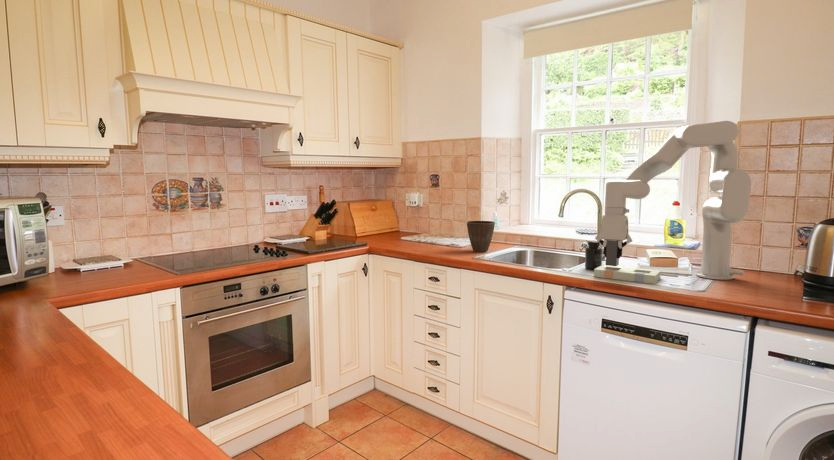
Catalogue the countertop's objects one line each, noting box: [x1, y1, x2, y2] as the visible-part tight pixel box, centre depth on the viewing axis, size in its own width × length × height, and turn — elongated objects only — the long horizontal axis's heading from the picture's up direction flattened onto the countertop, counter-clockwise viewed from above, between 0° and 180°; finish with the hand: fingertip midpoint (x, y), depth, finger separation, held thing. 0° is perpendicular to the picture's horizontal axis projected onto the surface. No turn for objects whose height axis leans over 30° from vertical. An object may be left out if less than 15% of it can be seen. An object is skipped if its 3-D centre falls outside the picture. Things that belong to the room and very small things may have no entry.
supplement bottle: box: [584, 240, 603, 271], centre depth 204 cm, size 7×7×12 cm
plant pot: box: [466, 220, 496, 253], centre depth 253 cm, size 15×15×16 cm
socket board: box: [593, 264, 662, 285], centre depth 187 cm, size 22×12×3 cm, turn 54°
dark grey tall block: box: [605, 240, 620, 266], centre depth 189 cm, size 4×4×11 cm
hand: (612, 256), depth 189 cm, fingers closed on dark grey tall block, 4 cm apart
